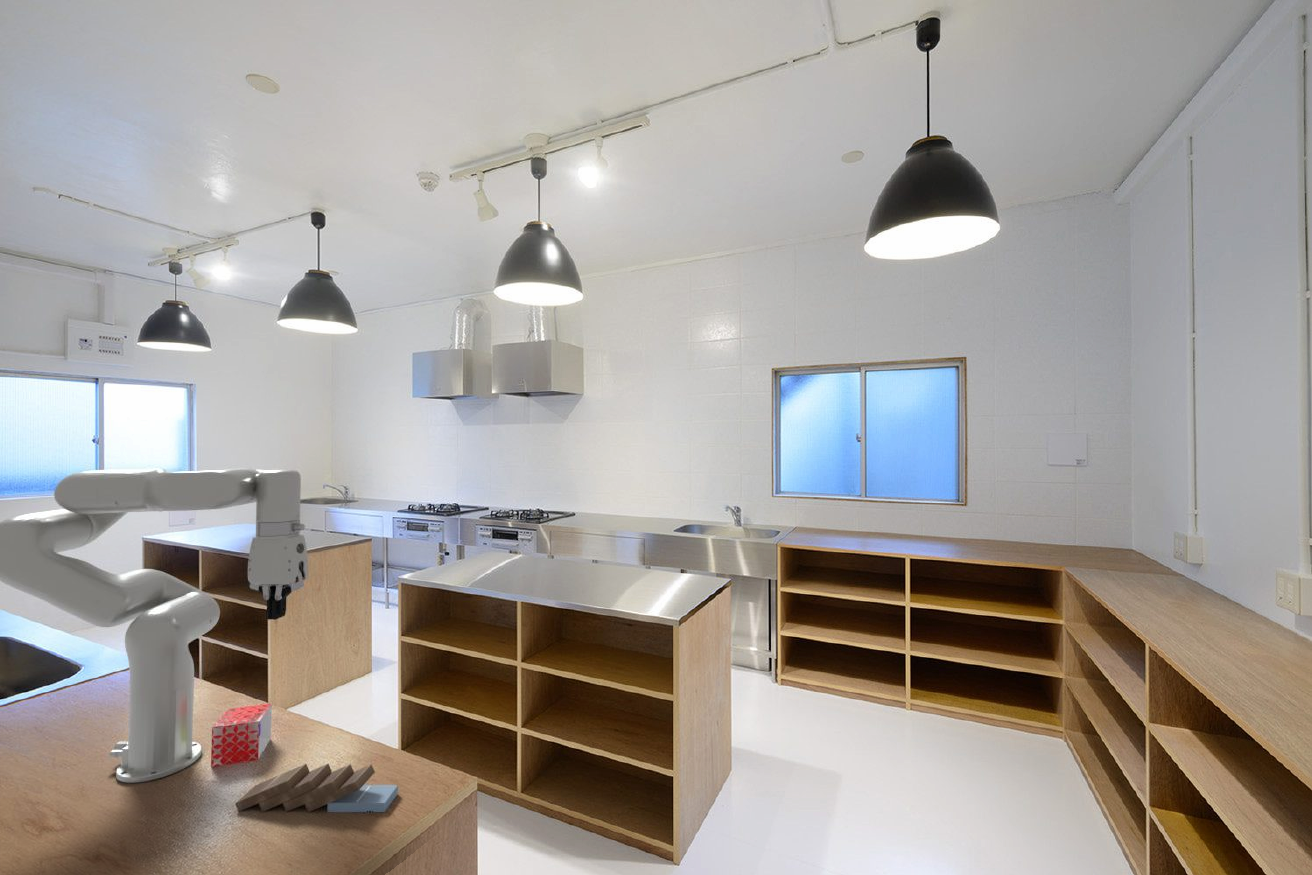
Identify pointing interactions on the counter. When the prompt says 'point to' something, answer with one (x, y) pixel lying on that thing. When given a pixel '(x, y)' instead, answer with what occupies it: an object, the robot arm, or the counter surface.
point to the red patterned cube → (241, 734)
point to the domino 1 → (272, 787)
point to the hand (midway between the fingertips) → (276, 617)
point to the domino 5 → (366, 799)
